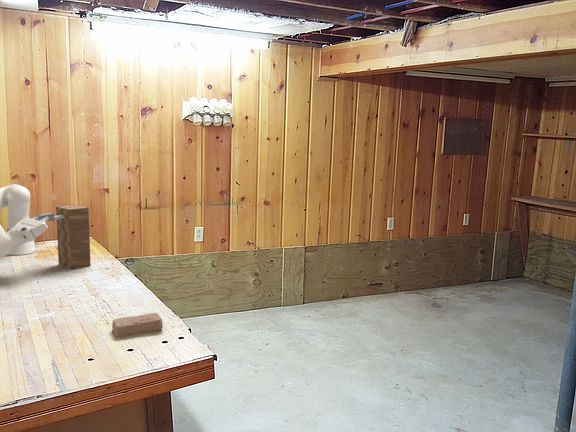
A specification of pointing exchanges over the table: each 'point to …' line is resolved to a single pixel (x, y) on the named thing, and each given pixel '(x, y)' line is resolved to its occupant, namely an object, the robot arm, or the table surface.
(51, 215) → the grey stepped bar
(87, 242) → the post
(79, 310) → the table surface
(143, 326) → the brick
